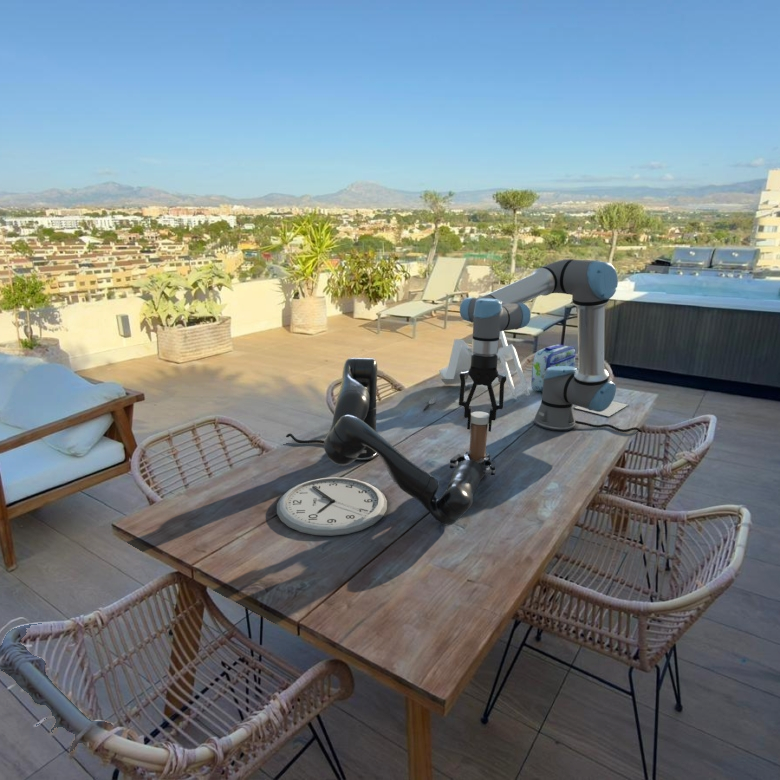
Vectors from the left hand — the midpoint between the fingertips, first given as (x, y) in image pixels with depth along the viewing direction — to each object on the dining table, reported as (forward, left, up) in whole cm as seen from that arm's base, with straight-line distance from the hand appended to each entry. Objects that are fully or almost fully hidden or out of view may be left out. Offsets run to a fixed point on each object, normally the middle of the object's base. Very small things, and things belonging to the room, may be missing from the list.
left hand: (478, 454), depth 162 cm
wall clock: (-33, -36, -6) cm, 49 cm away
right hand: (0, -3, +10) cm, 10 cm away
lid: (0, -3, +14) cm, 14 cm away
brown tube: (0, -3, -6) cm, 7 cm away
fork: (-32, +54, -6) cm, 63 cm away
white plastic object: (-16, +83, -6) cm, 85 cm away
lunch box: (+14, +102, -6) cm, 103 cm away
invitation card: (+37, +84, -6) cm, 92 cm away
